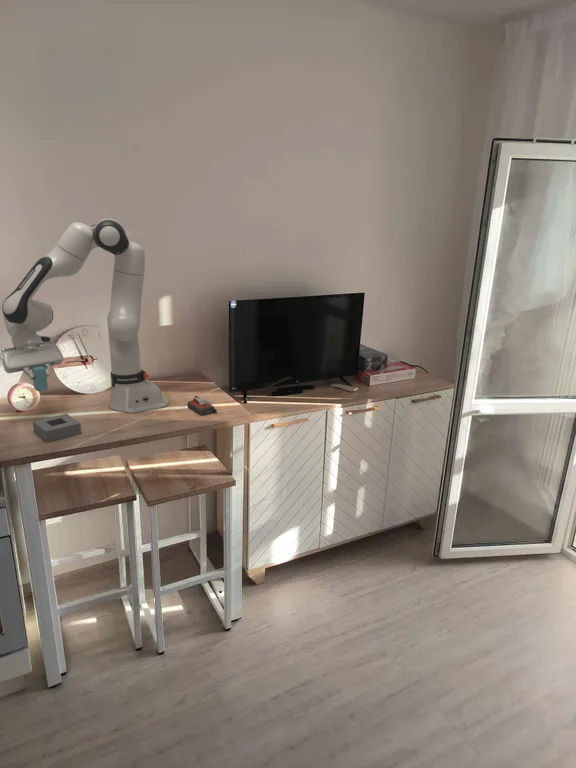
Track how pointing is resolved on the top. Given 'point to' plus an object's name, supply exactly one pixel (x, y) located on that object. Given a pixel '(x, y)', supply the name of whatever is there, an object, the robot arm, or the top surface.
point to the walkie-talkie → (201, 406)
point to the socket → (56, 427)
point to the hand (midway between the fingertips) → (40, 377)
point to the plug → (40, 378)
